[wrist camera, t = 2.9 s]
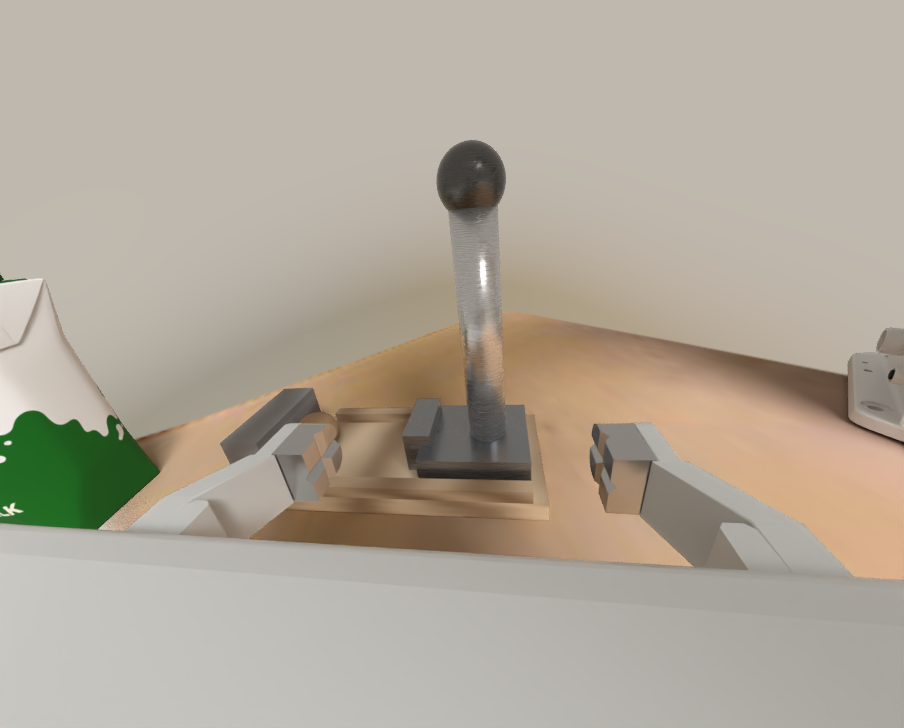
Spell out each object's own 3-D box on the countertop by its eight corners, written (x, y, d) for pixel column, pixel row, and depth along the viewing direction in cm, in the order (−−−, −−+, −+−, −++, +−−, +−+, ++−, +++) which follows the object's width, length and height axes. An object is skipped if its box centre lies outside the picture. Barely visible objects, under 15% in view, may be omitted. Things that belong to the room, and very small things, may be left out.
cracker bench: (534, 428, 30) (534, 376, 28) (548, 520, 21) (551, 456, 19) (302, 428, 34) (285, 383, 32) (233, 507, 25) (202, 452, 23)
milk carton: (177, 464, 31) (43, 245, 22) (79, 555, 23) (-192, 263, 14) (89, 472, 31) (-76, 258, 23) (-38, 565, 23) (-373, 284, 14)
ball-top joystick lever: (524, 422, 28) (522, 144, 20) (531, 482, 22) (533, 114, 13) (425, 422, 30) (381, 164, 21) (405, 479, 24) (332, 146, 15)
